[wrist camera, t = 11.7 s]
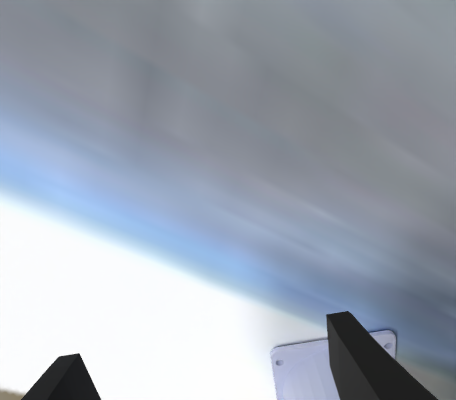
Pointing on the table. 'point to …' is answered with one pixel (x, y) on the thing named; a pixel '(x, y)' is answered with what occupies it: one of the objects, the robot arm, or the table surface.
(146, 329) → the table surface
